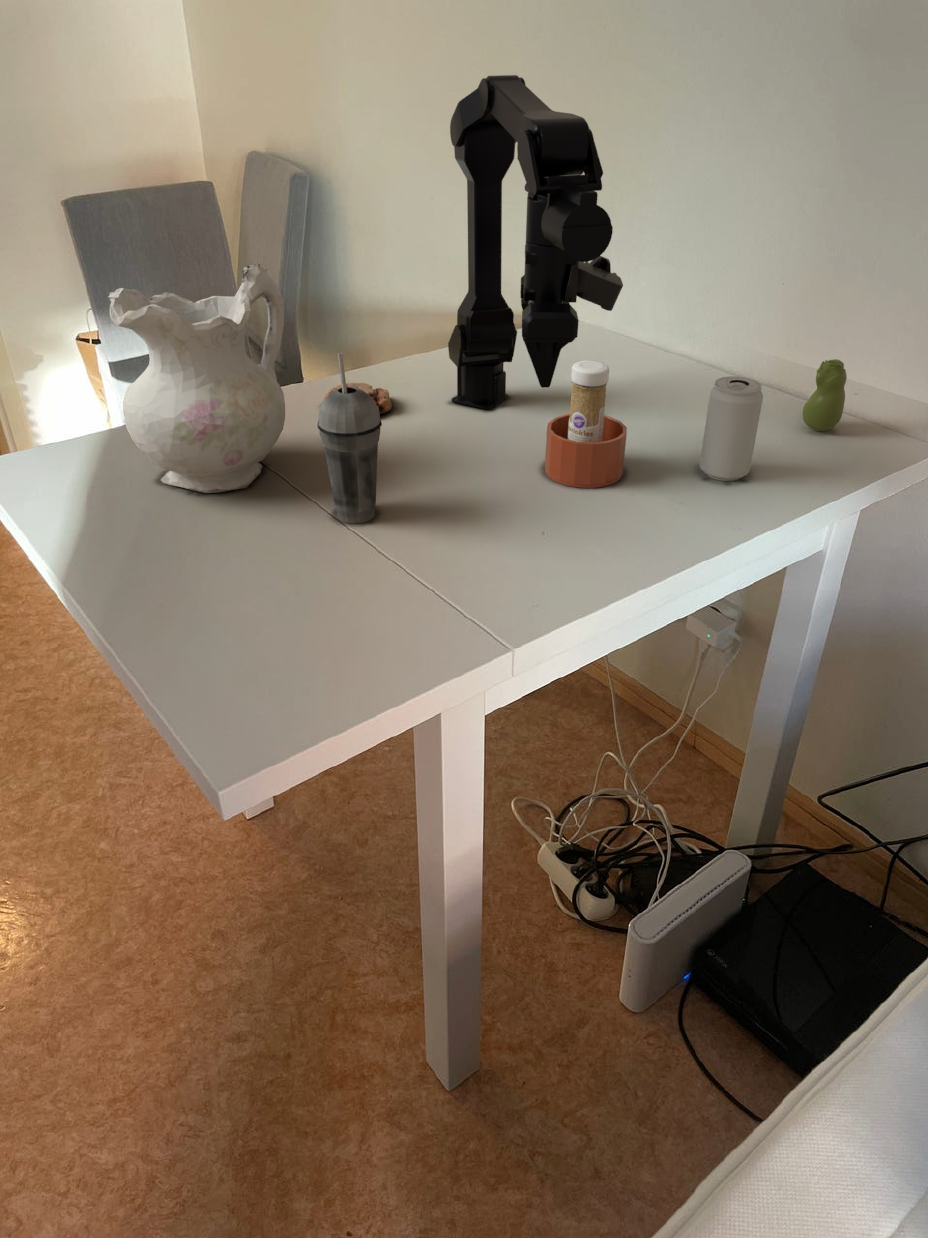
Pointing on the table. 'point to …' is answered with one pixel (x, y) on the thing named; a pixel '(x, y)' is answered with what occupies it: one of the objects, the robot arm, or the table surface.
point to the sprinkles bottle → (587, 401)
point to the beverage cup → (351, 449)
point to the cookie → (371, 395)
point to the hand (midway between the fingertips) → (544, 373)
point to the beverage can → (731, 428)
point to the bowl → (585, 455)
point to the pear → (826, 397)
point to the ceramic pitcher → (204, 384)
